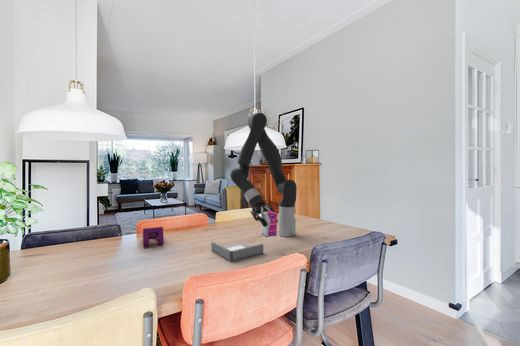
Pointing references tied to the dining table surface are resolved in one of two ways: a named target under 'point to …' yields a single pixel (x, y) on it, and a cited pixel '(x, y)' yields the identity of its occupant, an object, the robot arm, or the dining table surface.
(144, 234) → the mounting bracket
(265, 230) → the supplement box
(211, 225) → the dining table surface
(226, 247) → the corner tray
